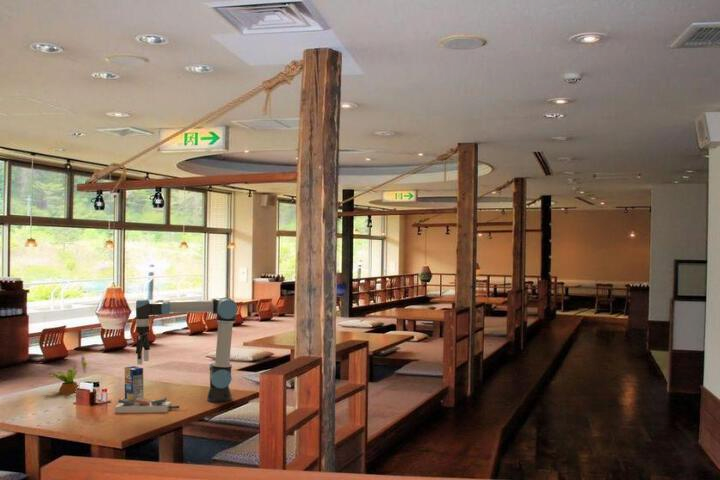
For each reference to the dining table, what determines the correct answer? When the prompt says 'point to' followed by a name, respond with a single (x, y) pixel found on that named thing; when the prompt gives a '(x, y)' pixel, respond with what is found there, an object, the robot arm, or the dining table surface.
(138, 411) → the power strip
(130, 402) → the rocker
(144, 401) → the rocker
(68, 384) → the decorative plant
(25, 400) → the dining table surface
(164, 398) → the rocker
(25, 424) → the dining table surface
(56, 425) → the dining table surface
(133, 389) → the beverage box
